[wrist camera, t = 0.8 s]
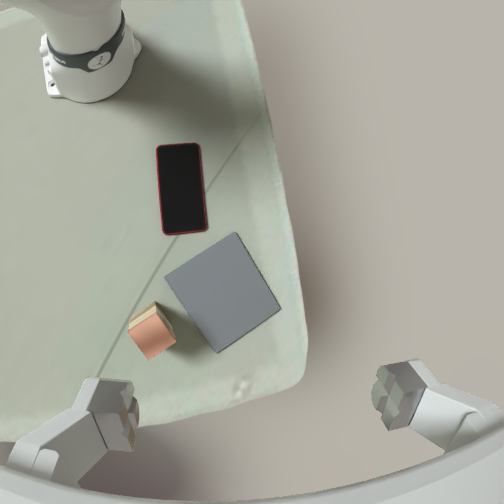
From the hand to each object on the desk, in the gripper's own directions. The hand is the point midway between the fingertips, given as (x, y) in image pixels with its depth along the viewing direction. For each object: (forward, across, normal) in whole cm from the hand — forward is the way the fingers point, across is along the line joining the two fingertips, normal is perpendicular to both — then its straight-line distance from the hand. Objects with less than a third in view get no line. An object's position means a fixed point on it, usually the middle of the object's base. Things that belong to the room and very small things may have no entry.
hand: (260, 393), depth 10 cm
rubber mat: (+42, 0, +16) cm, 46 cm away
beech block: (+39, +13, +20) cm, 46 cm away
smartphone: (+46, +7, -1) cm, 47 cm away
